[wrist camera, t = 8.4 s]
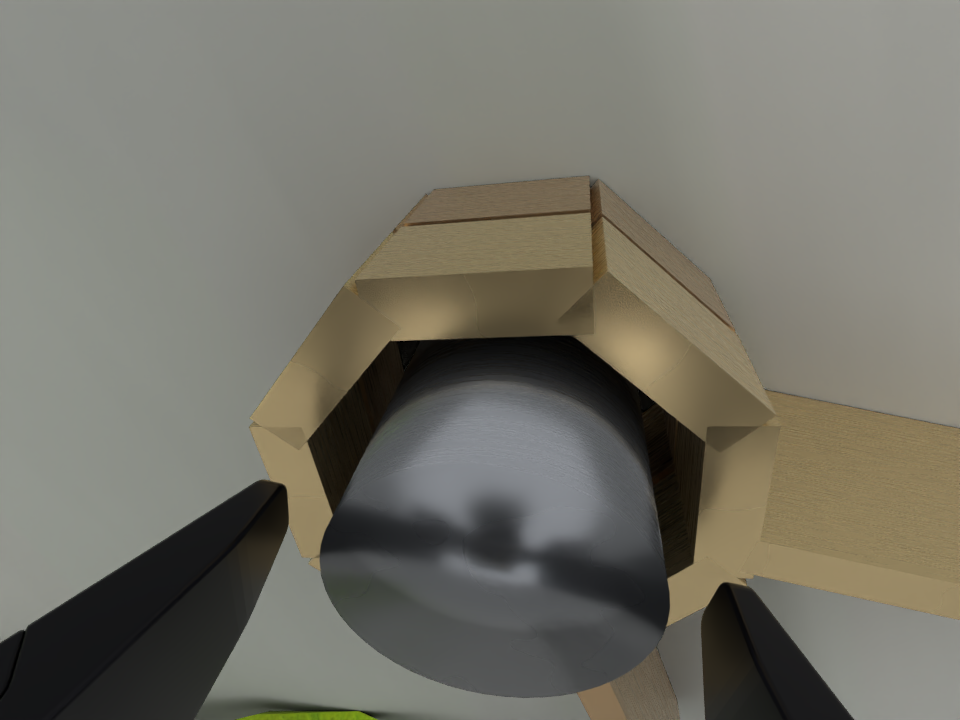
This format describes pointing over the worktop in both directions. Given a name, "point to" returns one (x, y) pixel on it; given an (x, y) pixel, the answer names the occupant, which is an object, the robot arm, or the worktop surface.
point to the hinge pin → (504, 522)
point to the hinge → (667, 424)
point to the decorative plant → (309, 715)
